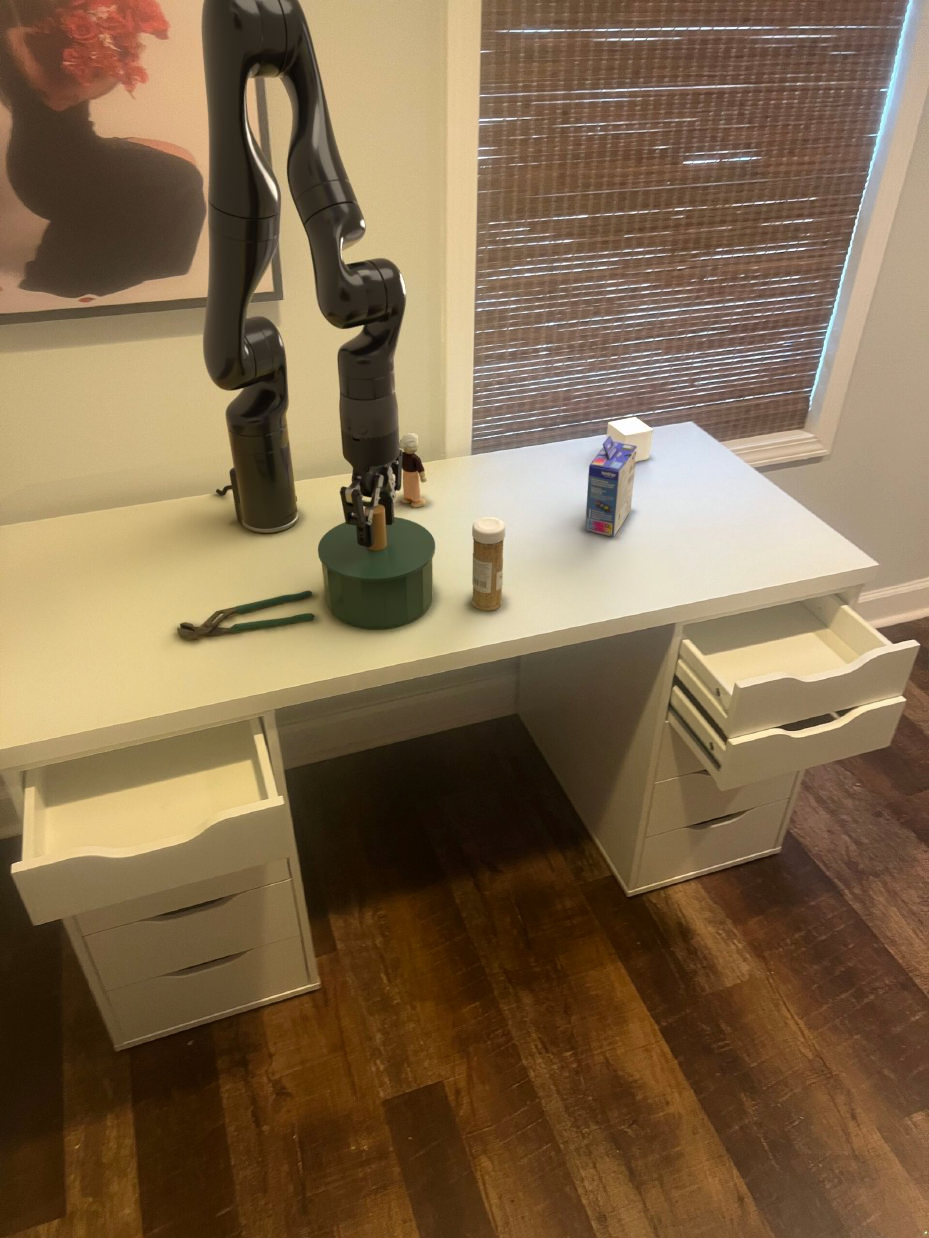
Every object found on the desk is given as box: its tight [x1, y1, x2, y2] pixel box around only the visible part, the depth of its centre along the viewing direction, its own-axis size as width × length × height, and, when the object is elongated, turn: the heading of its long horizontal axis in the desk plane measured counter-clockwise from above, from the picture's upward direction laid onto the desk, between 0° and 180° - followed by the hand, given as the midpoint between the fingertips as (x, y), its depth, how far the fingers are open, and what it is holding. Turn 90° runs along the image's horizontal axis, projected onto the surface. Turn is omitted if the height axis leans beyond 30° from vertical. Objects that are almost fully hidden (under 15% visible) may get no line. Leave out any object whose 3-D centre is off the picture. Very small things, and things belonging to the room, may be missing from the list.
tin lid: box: [317, 504, 436, 582], centre depth 127 cm, size 17×17×7 cm
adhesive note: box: [605, 416, 654, 463], centre depth 170 cm, size 6×6×6 cm
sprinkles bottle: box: [471, 516, 506, 612], centre depth 129 cm, size 5×5×14 cm
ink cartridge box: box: [584, 436, 637, 538], centre depth 148 cm, size 10×6×14 cm, turn 155°
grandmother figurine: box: [399, 432, 427, 508], centre depth 153 cm, size 8×4×13 cm, turn 58°
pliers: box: [176, 590, 316, 641], centre depth 129 cm, size 20×6×1 cm, turn 109°
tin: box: [321, 559, 434, 631], centre depth 131 cm, size 16×16×8 cm
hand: (376, 533), depth 127 cm, fingers open, 5 cm apart
